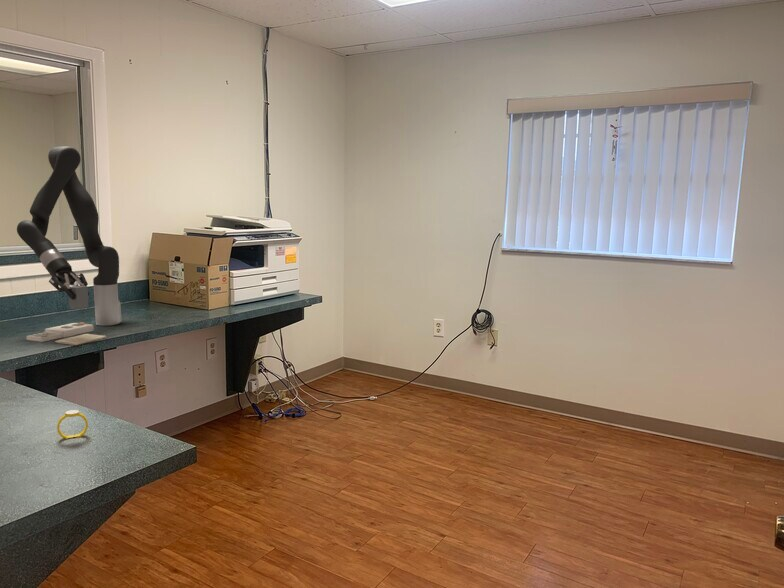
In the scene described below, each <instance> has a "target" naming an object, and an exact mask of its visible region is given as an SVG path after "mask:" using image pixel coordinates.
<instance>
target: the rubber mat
mask: <svg viewBox="0 0 784 588" xmlns="http://www.w3.org/2000/svg"><path fill="white" fill-rule="evenodd" d="M105 338H106V339H107V335H101V334H92V333H82V334H78V335H73V336H69V337H65V338H60V339H58V340H57V339H56V340H55V343H56V344H63V345H64V344H65V345H72V346H77V345H83V344H86V343H90V342H93V341H97V340H103V339H105Z"/></svg>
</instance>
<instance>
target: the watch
mask: <svg viewBox="0 0 784 588" xmlns="http://www.w3.org/2000/svg"><path fill="white" fill-rule="evenodd" d="M73 417H80V418H82V419H83V421H84V422H85V426H84V429H83V430H82V431H81V432H80V433H77V434H72V435H70V434H69V435H67V434H64V433H63V432H62V431H61V429H60V424H61V423H62V421H63V420H65V419H66V418H73ZM88 423H89V422H88V419H87V417H86V416H85V415H84V414H83V413H80V410H78V409H71V410H67V411H65V412H64V415H62V416H60V417H59V419H58V421H57V425H56V426H57V427H56V431H57V434H58V435H59V436H60V437H61V438H62V439H65V440H68V439H67V438H70V439H74V438H73V437H77V438H81V437H83V436H84V435H85V434H86V432H87V430H88V428H89V427H88V426H89V424H88Z"/></svg>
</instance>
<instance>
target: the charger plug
mask: <svg viewBox="0 0 784 588" xmlns="http://www.w3.org/2000/svg"><path fill="white" fill-rule="evenodd" d="M88 288H89V287H88V285H87V286H80V285H78V286H74V287H73V286H70V289H72V290H73V292H74V293H75V294H76V296H77V297H76V298H75V299H74V300H72V299H71V298H70V297H69V296H68V306H69V307H68V308H69V309H70V310H81V309H87V308H89V296H88V292H89V290H88Z"/></svg>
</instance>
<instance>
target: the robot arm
mask: <svg viewBox="0 0 784 588" xmlns="http://www.w3.org/2000/svg"><path fill="white" fill-rule="evenodd" d="M47 156H48V157H47V158H48V162H49V165H50V167H51V169H52V170H53V171H52V172H51V175H50V176H49V178H48V179H47V181H46V182H45V183H44V184H43V186H42V187H41V188H40V189H39V191H38V192H37V194H36V196H35V197H34V199H33V202H32V204H31V206H30V208H29V214H30V215H31V216H32V219H31V220H28V219H27V220H22V221H20V222H19V223H18V224H17V226H16V232H17V234H18V236H19V237H20V239H21V240H22V241H23V242H24V243H25V244H26V245H27V246H28V247H29V248H30V249H31V250H32V251H33V253H35V255H36V256H37V258H38V259H39V260H40V263H41V264H42V266H43V267H44V268H45V270H46V271H47V272H48V274H49V275H50V276H51V277H50V279H49V280H48V283H49V284H51V286H53V287H54V288H55V290H57V291H58V292H59V293H63V292H64V293H65V294H67V296H68V298H69V297H70V298H71V299H72V300H74V299H75V298H76V297H77V296H76V294H75V293H74V292H73V290H72V289H70V287H74V286H87V287H88V285H89V284H88V282H87V279H86V277H85V275H84V273H79V274H77V273H76V272H74V271H73V268H72V265H71V264H70V263H69V261H68V260H67V259H66V258H65V256H64V255H63V254H62V253H61V252H60V251H59V250H58V249H57V247H56V246H55V244H54V243H53V242H52V241H51V240H50V239H48V238H47V237H46V235H47V233H48V229H49V223H50V217H51V215H52V214H53V210H54V209H55V206H56V205H57V202H58V200H59V197H60V196H61V194H62V192H63V194H64V196H65V200H66V202H67V205H68V206H69V210H70V212H71V215H72V217H73V220H74V221H75V224H76V227H77V228H78V229H77V230H78V231H79V235H80V236H81V239H82V242H83V245H84V249H85V253H86V257H87V259H88V261H89V263H90V264H91V265H92V266H94V267H95V268H97V269H98V272H97V275H96V276H94V277H93V279H92V281H93V297H94V300H93V301H94V315H95V316H94V317H95V325H96V326H101V327H102V326H103V327H105V326H115V325H118V324H120V323H122V310H121V309H122V308H121V301H120V300H119V290H118V287H119V286H118V279H119V276H120V256H119V254H118V251H117V249H115V248H114V247H112V246H106V245H104V243H103V241H102V239H101V236H100V233H99V221H100V219H99V212H98V209H97V206H96V204H95V201H94V200H93V198H92V196H91V194H90V193H89V191H88V190H87V189H86V187H85V186H84V185H83V184H82V183H81V181H80V179H79V177H78V175H77V172H76V171H77V169H78V168H79V166H80V164H81V154H80V153H79V151H78V150H77V149H76V148H75V147H72V146H68V145H67V146H65V145H64V146H60V145H59V146H54V147H52V148H51V149H50V150H49V151H48V155H47ZM89 296H90V292H89V291H88V297H89Z"/></svg>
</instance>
